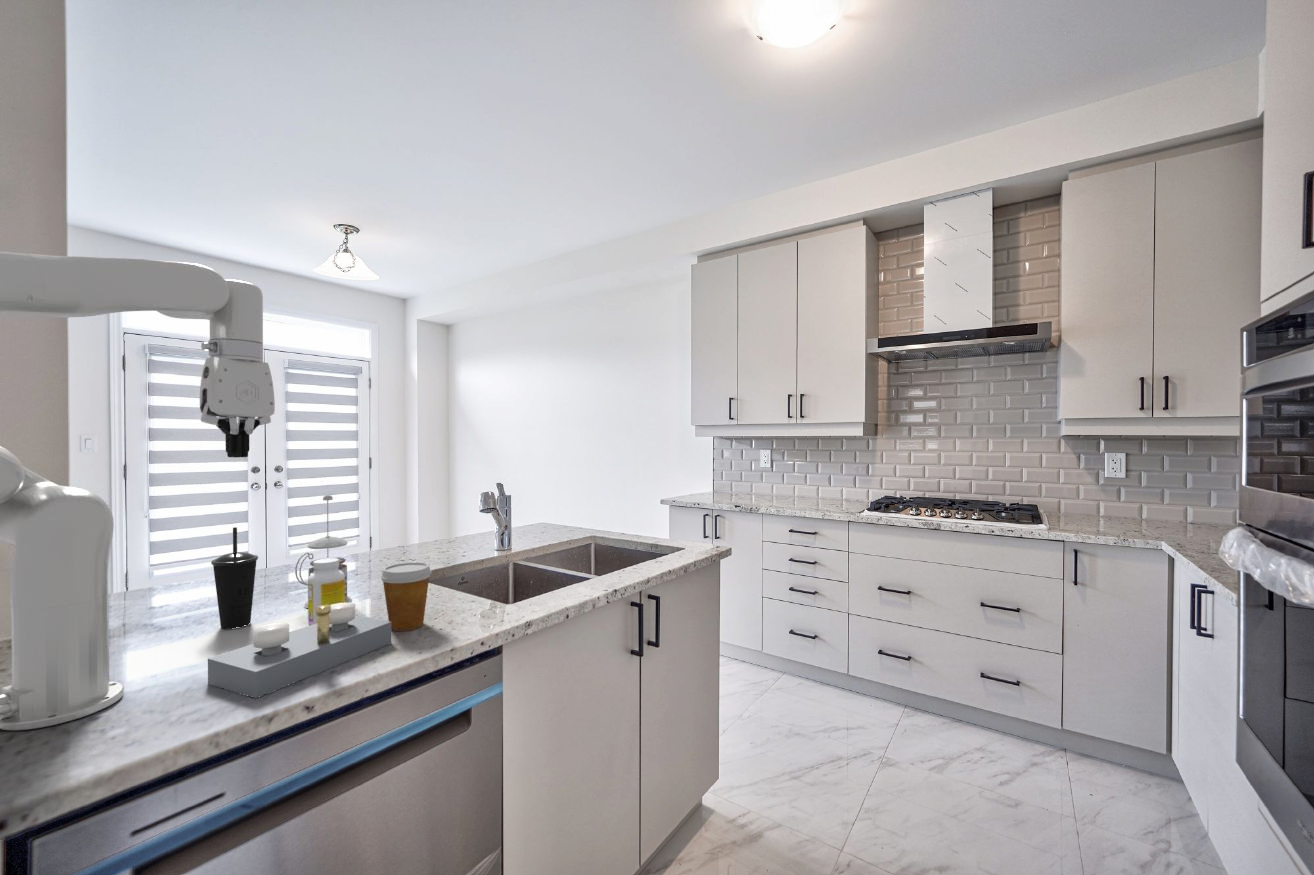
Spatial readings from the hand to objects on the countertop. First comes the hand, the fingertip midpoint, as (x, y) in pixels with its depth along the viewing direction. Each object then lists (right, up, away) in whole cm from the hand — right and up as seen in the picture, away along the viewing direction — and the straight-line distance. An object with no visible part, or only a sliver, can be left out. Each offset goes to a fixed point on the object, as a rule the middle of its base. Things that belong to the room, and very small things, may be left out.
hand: (237, 456), depth 99 cm
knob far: (+16, -34, +3) cm, 38 cm away
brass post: (+18, -31, -4) cm, 36 cm away
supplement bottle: (+5, -35, +18) cm, 40 cm away
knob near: (+12, -34, -8) cm, 37 cm away
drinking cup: (-12, -35, +15) cm, 40 cm away
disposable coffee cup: (+23, -35, +15) cm, 45 cm away
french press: (-2, -35, +30) cm, 46 cm away
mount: (+14, -35, -3) cm, 38 cm away
